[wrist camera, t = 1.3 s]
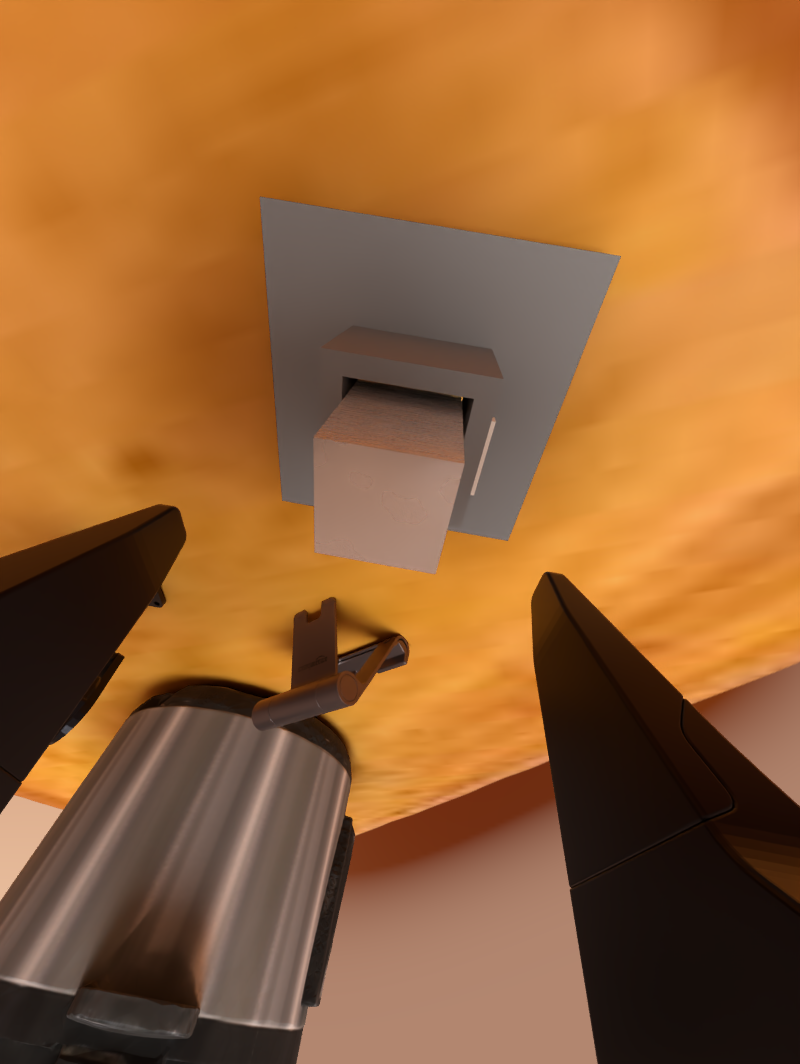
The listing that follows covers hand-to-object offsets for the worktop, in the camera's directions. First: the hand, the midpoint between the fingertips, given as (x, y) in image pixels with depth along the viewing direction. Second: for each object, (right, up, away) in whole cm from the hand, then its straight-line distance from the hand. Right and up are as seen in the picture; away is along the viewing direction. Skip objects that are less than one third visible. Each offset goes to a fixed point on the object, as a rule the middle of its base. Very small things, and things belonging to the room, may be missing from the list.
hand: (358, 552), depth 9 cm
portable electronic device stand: (-4, -8, +24) cm, 25 cm away
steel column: (+2, +7, +9) cm, 12 cm away
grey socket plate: (+2, +8, +11) cm, 13 cm away
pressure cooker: (-17, -25, +38) cm, 49 cm away
